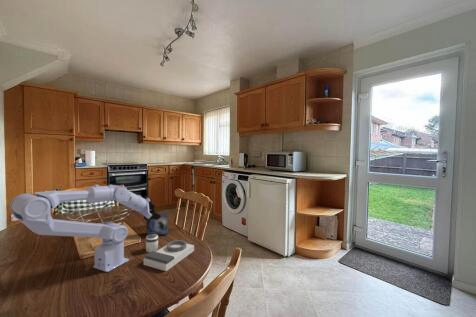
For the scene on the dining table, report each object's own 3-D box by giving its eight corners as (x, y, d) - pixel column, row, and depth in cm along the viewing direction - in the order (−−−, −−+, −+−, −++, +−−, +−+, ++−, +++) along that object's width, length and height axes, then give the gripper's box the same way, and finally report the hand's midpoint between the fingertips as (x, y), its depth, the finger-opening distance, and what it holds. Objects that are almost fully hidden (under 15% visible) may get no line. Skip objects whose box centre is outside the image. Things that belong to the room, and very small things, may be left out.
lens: (152, 253, 93) (152, 239, 92) (143, 251, 95) (143, 237, 94) (160, 248, 97) (160, 235, 97) (152, 246, 99) (152, 233, 99)
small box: (145, 237, 109) (145, 217, 109) (147, 232, 116) (147, 213, 115) (167, 235, 112) (167, 215, 112) (168, 230, 119) (168, 212, 118)
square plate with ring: (166, 271, 79) (166, 260, 79) (143, 264, 83) (143, 254, 83) (194, 250, 96) (194, 241, 96) (174, 246, 100) (174, 237, 100)
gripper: (146, 204, 87) (168, 215, 97) (135, 185, 96) (156, 197, 106) (133, 217, 86) (157, 227, 96) (124, 197, 95) (146, 208, 105)
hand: (156, 212), depth 101 cm, fingers open, 7 cm apart
